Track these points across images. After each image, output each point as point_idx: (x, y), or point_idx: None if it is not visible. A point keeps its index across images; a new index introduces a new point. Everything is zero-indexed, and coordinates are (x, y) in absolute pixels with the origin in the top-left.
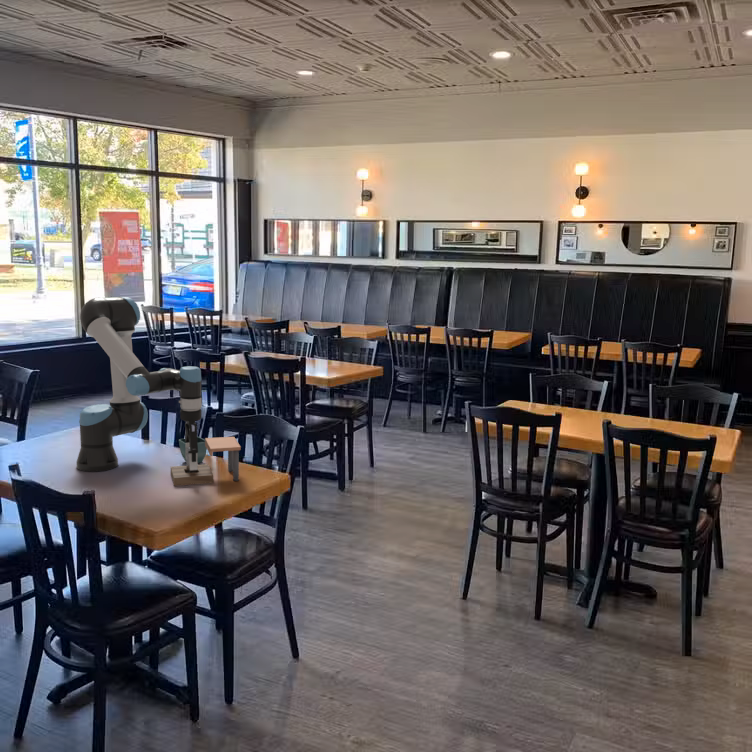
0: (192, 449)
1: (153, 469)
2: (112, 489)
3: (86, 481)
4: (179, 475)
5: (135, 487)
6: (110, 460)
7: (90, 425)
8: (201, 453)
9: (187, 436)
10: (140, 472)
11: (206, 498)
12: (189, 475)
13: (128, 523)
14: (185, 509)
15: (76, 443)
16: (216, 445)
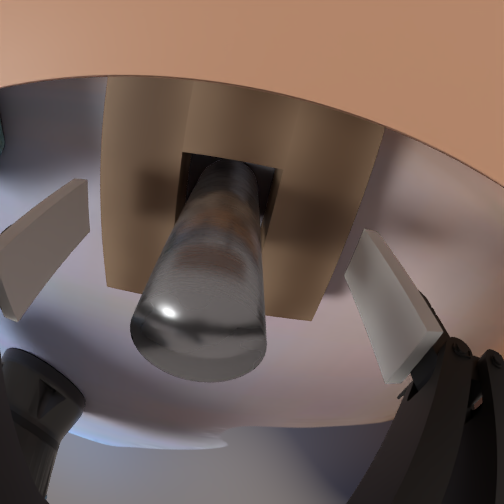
0: (264, 340)
1: (55, 296)
2: (240, 414)
3: (155, 425)
4: (286, 291)
5: (249, 383)
6: (46, 388)
7: (45, 495)
8: None
9: (2, 396)
10: (87, 337)
11: (496, 228)
12: (316, 246)
13: None
14: (500, 305)
15: None
16: (493, 23)
